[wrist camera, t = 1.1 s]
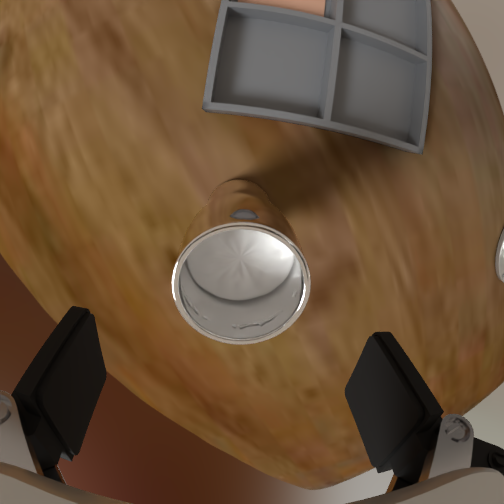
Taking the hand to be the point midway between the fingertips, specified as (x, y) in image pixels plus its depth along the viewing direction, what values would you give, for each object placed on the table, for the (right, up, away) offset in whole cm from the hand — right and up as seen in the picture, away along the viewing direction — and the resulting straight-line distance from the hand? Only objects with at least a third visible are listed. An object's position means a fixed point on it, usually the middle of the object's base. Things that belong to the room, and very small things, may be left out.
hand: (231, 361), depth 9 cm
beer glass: (-1, +7, +18) cm, 20 cm away
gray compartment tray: (+8, +24, +12) cm, 28 cm away
